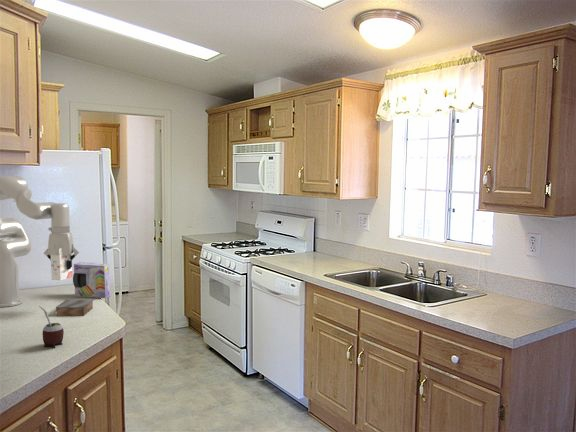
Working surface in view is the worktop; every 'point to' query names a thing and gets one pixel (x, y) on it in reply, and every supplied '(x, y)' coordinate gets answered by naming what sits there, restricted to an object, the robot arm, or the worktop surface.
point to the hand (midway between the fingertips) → (61, 268)
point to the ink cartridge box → (60, 267)
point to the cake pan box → (91, 280)
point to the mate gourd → (52, 333)
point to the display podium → (74, 307)
